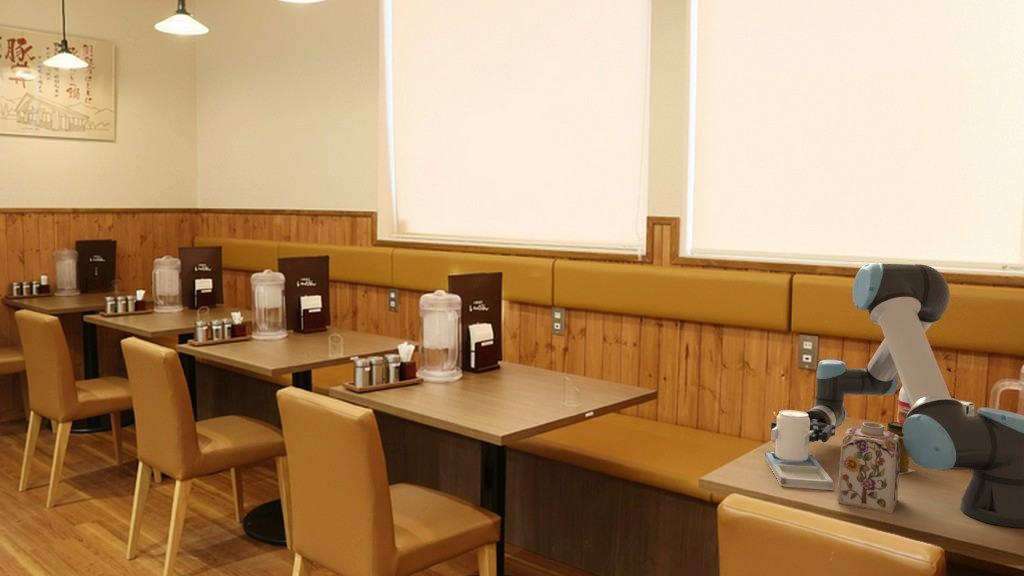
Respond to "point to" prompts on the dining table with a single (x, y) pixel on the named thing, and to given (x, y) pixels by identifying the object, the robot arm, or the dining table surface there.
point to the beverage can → (792, 436)
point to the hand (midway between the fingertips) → (787, 437)
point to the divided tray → (799, 473)
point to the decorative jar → (869, 468)
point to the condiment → (904, 457)
